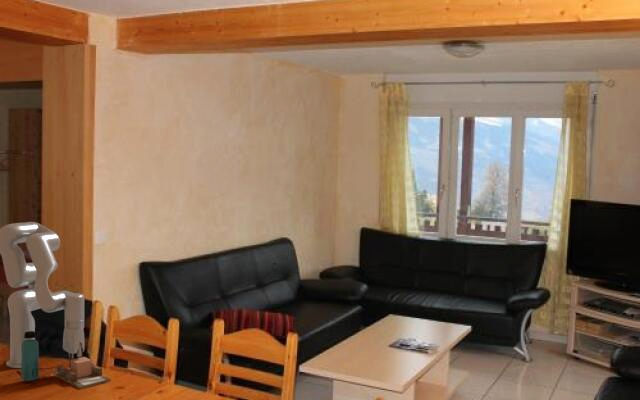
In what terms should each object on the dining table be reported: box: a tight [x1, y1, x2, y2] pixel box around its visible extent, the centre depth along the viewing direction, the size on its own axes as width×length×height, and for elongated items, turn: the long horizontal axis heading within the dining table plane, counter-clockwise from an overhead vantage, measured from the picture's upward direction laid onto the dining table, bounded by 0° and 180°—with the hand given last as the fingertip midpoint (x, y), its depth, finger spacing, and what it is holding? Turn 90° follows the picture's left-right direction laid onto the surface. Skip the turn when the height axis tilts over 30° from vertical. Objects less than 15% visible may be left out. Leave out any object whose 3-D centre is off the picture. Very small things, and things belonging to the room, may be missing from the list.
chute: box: [55, 363, 112, 390], centre depth 268 cm, size 20×13×4 cm, turn 46°
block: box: [69, 356, 93, 378], centre depth 269 cm, size 6×6×6 cm
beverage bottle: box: [20, 331, 40, 382], centre depth 262 cm, size 6×7×20 cm
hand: (74, 368), depth 273 cm, fingers closed
